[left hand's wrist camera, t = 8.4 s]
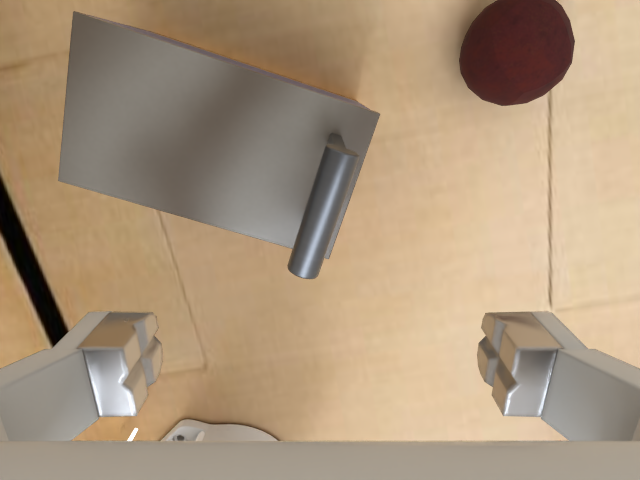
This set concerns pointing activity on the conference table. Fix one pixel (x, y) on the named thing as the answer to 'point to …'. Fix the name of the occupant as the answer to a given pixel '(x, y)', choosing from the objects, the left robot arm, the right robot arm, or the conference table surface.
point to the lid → (210, 140)
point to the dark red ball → (517, 50)
